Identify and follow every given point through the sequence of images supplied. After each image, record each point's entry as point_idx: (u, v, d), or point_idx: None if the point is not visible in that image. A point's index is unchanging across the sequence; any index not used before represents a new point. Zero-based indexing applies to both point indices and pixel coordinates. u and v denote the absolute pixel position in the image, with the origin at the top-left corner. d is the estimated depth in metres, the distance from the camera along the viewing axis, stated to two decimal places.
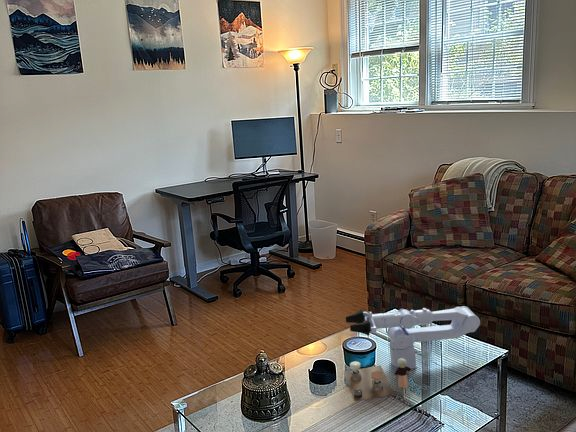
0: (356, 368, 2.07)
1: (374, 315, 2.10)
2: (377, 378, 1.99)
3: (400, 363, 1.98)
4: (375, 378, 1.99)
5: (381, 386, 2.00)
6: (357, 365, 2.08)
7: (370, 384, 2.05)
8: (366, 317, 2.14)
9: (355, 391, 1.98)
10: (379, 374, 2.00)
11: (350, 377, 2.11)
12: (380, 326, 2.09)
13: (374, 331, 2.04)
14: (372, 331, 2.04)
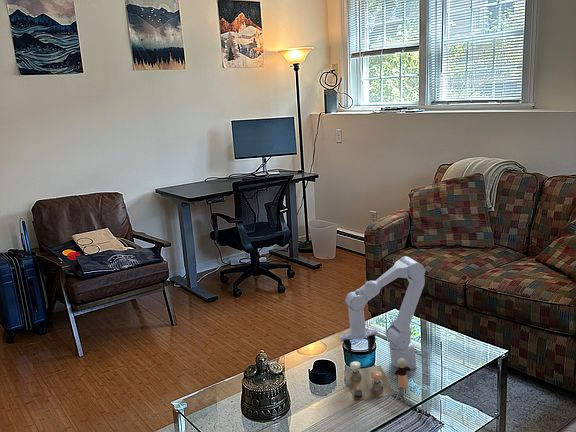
0: (356, 368, 2.07)
1: (361, 333, 2.05)
2: (377, 378, 1.99)
3: (400, 363, 1.98)
4: (375, 378, 1.99)
5: (381, 386, 2.00)
6: (357, 365, 2.08)
7: (370, 384, 2.05)
8: None
9: (355, 391, 1.98)
10: (379, 374, 2.00)
11: (350, 377, 2.11)
12: None
13: None
14: None
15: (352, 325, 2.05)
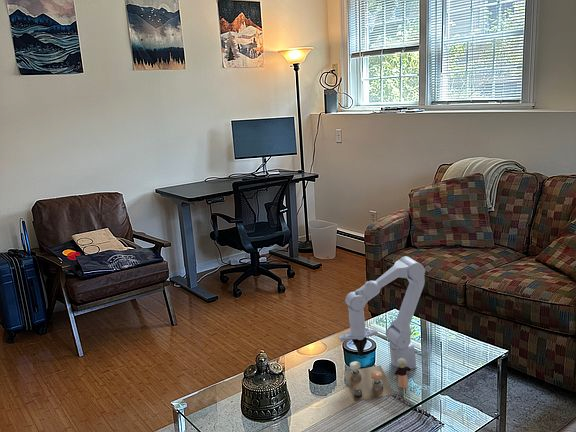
0: (356, 368, 2.07)
1: (361, 333, 2.05)
2: (377, 378, 1.99)
3: (400, 363, 1.98)
4: (375, 378, 1.99)
5: (381, 386, 2.00)
6: (357, 365, 2.08)
7: (370, 384, 2.05)
8: None
9: (355, 391, 1.98)
10: (379, 374, 2.00)
11: (350, 377, 2.11)
12: None
13: None
14: None
15: (352, 325, 2.05)
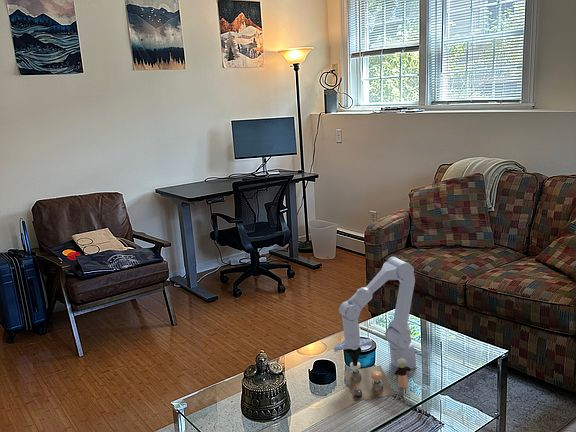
0: (356, 368, 2.07)
1: (355, 343, 2.03)
2: (377, 378, 1.99)
3: (400, 363, 1.98)
4: (375, 378, 1.99)
5: (381, 386, 2.00)
6: (357, 365, 2.08)
7: (370, 384, 2.05)
8: None
9: (355, 391, 1.98)
10: (379, 374, 2.00)
11: (350, 377, 2.11)
12: None
13: None
14: None
15: (346, 335, 2.03)
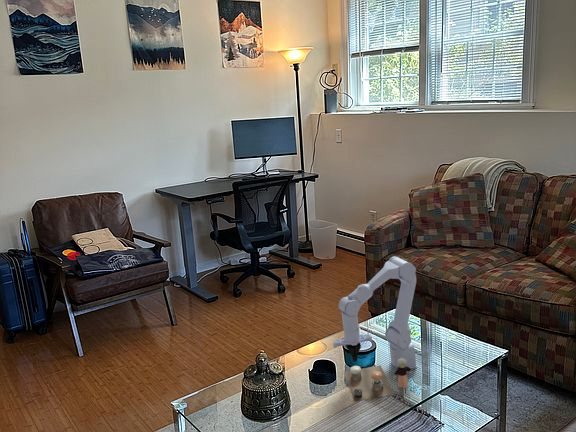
0: (356, 372, 2.07)
1: (354, 339, 2.03)
2: (377, 378, 1.99)
3: (400, 363, 1.98)
4: (375, 378, 1.99)
5: (381, 386, 2.00)
6: (357, 369, 2.08)
7: (370, 384, 2.05)
8: None
9: (356, 391, 1.98)
10: (379, 374, 2.00)
11: (350, 377, 2.11)
12: None
13: None
14: None
15: (346, 330, 2.03)
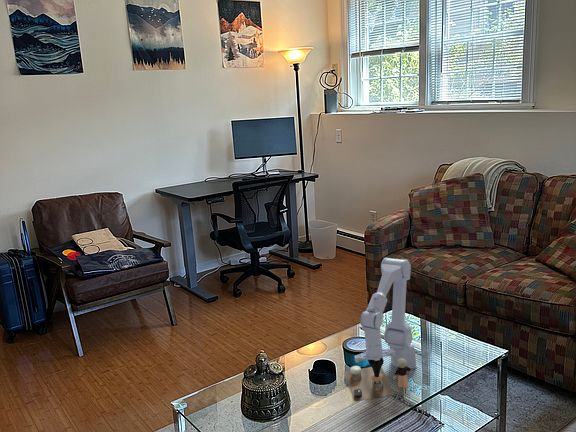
0: (356, 372, 2.07)
1: (377, 354, 1.95)
2: (377, 380, 1.99)
3: (400, 363, 1.98)
4: (375, 380, 1.99)
5: (381, 386, 2.00)
6: (357, 369, 2.08)
7: (370, 384, 2.05)
8: None
9: (356, 391, 1.98)
10: (380, 376, 2.00)
11: (350, 377, 2.11)
12: None
13: None
14: None
15: (368, 345, 1.95)
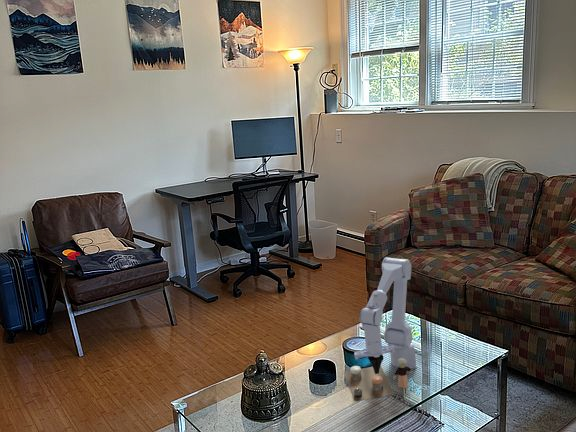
0: (356, 372, 2.07)
1: (377, 351, 1.95)
2: (377, 383, 1.99)
3: (400, 363, 1.98)
4: (375, 383, 1.99)
5: (381, 386, 2.00)
6: (357, 369, 2.08)
7: (370, 384, 2.05)
8: None
9: (357, 391, 1.98)
10: (380, 379, 2.00)
11: (350, 377, 2.11)
12: None
13: None
14: None
15: (368, 342, 1.95)
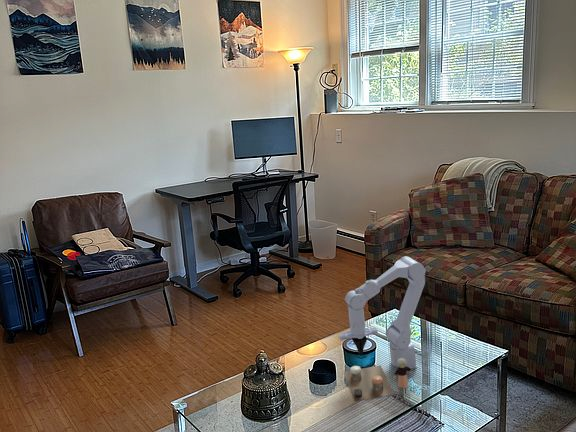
0: (356, 372, 2.07)
1: (361, 332, 2.05)
2: (377, 383, 1.99)
3: (400, 363, 1.98)
4: (375, 383, 1.99)
5: (381, 386, 2.00)
6: (357, 369, 2.08)
7: (370, 384, 2.05)
8: None
9: (358, 391, 1.98)
10: (380, 379, 2.00)
11: (350, 377, 2.11)
12: None
13: None
14: None
15: (352, 324, 2.05)
